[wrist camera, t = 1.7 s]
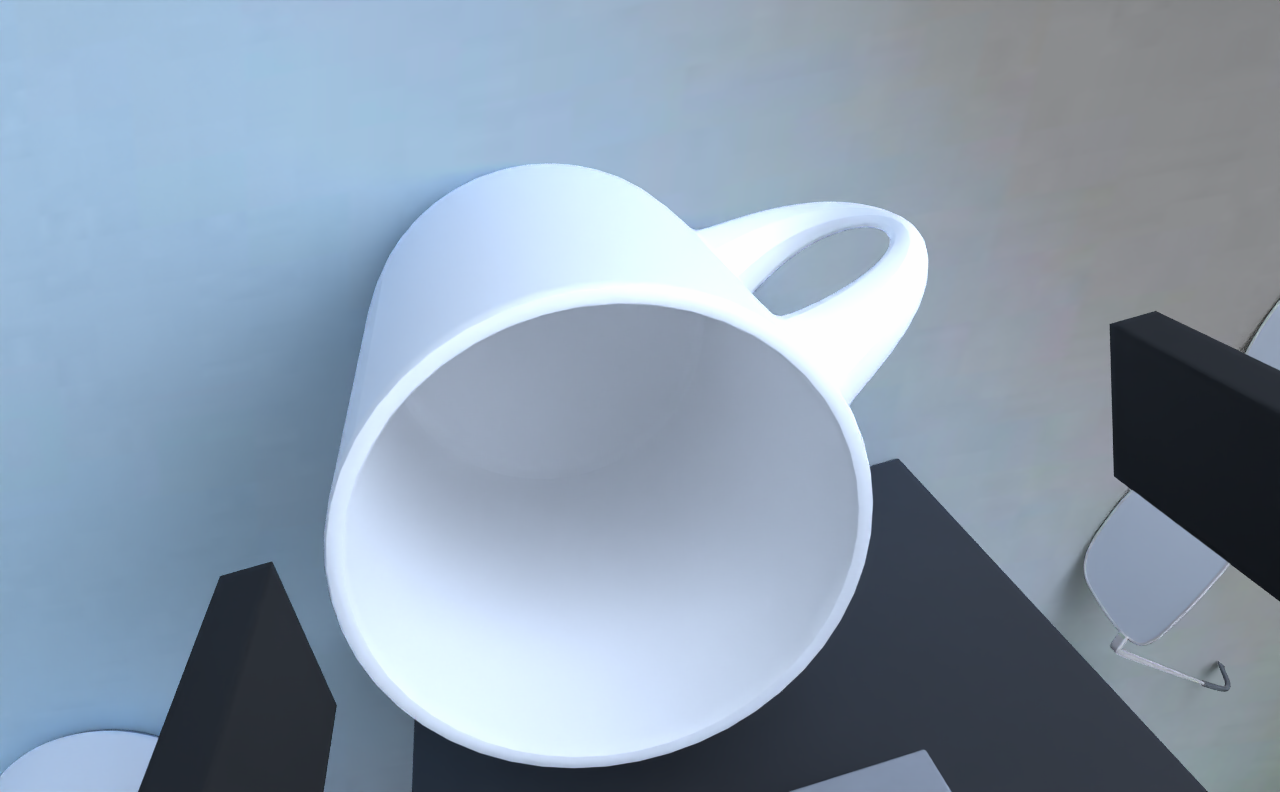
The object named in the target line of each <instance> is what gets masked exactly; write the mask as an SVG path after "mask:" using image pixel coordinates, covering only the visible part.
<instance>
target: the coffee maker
mask: <svg viewBox="0 0 1280 792" xmlns="http://www.w3.org/2000/svg"><path fill="white" fill-rule="evenodd" d="M870 471H871V483H872V496H873V510H872V525H871V536H870V541H869V546H868V551H867V555H866V560H865V565H864V567H863V570H862V573H861V576H860V579H859V581H858V584H857V587H856V590H855V593H854V595H853V597H852V599H851V601H850V603H849V605H848V607H847V609H846V611H845V613H844V615H843V617H842V619H841V621H840V622H839V624H838V625H837V627H836V628H835V630H834V631H833V633H832V634H831V636H830V637H829V639H828V640H827V642H826V643H825V645H824V646H823V648H822V649H821V650H820V651H819V652H818V654H817V655H816V656H815V657H814V658H813V659H812V661H811V662H810V663H809V664H808V665H807V667H806V668H805V669H804V670H803V671H802V672H801V673H800V674H799V675H798V676H797V677H796V678H795V679H794V680H793V681H792V682H791V683H790V684H788V685H787V686H786V687H785V688H784V689H783V690H782V691H781V692H780V693H779V694H777V695H776V696H775V697H773V698H772V699H771V700H770V701H768V702H767V703H766V704H764V705H763V706H762V707H760V708H759V709H758V710H757V711H755V712H754V713H752V714H750V715H749V716H747V717H746V718H744V719H742V720H741V721H739V722H738V723H736V724H734V725H733V726H731V727H729V728H728V729H726V730H724V731H721V732H719V733H717V734H715V735H713V736H711V737H709V738H707V739H705V740H703V741H701V742H699V743H696V744H693V745H691V746H688V747H685V748H682V749H680V750H677V751H674V752H672V753H669V754H665V755H661V756H657V757H653V758H650V759H646V760H642V761H638V762H632V763H625V764H619V765H613V766H606V767H587V768H561V767H542V766H536V765H529V764H523V763H517V762H511V761H507V760H503V759H500V758H496V757H492V756H489V755H485V754H482V753H478V752H476V751H474V750H471V749H469V748H466V747H464V746H462V745H459V744H457V743H454V742H452V741H450V740H448V739H446V738H444V737H443V736H441V735H439V734H437V733H436V732H434V731H432V730H430V729H429V728H427V727H425V726H423V725H422V724H421V723H419V722H418V721H417V720H415V723H414V751H413V778H412V792H1207V791H1206V790H1205V788H1204V787H1203V786H1202V785H1201V784H1200V783H1199V782H1198V781H1197V780H1196V779H1195V778H1194V777H1193V776H1192V774H1191V773H1190V772H1189V771H1188V770H1187V769H1186V768H1185V767H1184V766H1183V765H1182V764H1181V763H1180V762H1179V760H1178V759H1177V758H1176V757H1175V756H1174V755H1173V754H1172V753H1171V752H1170V751H1169V750H1168V749H1167V748H1166V746H1165V745H1164V744H1163V743H1162V742H1161V741H1160V740H1159V739H1158V738H1157V737H1156V736H1155V735H1154V734H1153V732H1152V731H1151V730H1150V729H1149V728H1148V727H1147V726H1146V725H1145V724H1144V723H1143V722H1142V721H1141V720H1140V718H1139V717H1138V716H1137V715H1136V714H1135V713H1134V712H1133V711H1132V710H1131V709H1130V708H1129V707H1128V706H1127V704H1126V703H1125V702H1124V701H1123V700H1122V699H1121V698H1120V697H1119V696H1118V695H1117V694H1116V693H1115V692H1114V690H1113V689H1112V688H1111V687H1110V686H1109V685H1108V684H1107V683H1106V682H1105V681H1104V680H1103V679H1102V677H1101V676H1100V675H1099V674H1098V673H1097V672H1096V671H1095V670H1094V669H1093V668H1092V667H1091V666H1090V665H1089V663H1088V662H1087V661H1086V660H1085V659H1084V658H1083V657H1082V656H1081V655H1080V654H1079V653H1078V652H1077V651H1076V649H1075V648H1074V647H1073V646H1072V645H1071V644H1070V643H1069V642H1068V641H1067V640H1066V639H1065V638H1064V637H1063V635H1062V634H1061V633H1060V632H1059V631H1058V630H1057V629H1056V628H1055V627H1054V626H1053V625H1052V624H1051V623H1050V621H1049V620H1048V619H1047V618H1046V617H1045V616H1044V615H1043V614H1042V613H1041V612H1040V611H1039V610H1038V609H1037V607H1036V606H1035V605H1034V604H1033V603H1032V602H1031V601H1030V600H1029V599H1028V598H1027V597H1026V596H1025V595H1024V593H1023V592H1022V591H1021V590H1020V589H1019V588H1018V587H1017V586H1016V585H1015V584H1014V583H1013V582H1012V581H1011V579H1010V578H1009V577H1008V576H1007V575H1006V574H1005V573H1004V572H1003V571H1002V570H1001V569H1000V568H999V567H998V565H997V564H996V563H995V562H994V561H993V560H992V559H991V558H990V557H989V556H988V555H987V554H986V553H985V551H984V550H983V549H982V548H981V547H980V546H979V545H978V544H977V543H976V542H975V541H974V540H973V539H972V537H971V536H970V535H969V534H968V533H967V532H966V531H965V530H964V529H963V528H962V527H961V526H960V525H959V523H958V522H957V521H956V520H955V519H954V518H953V517H952V516H951V515H950V514H949V513H948V512H947V511H946V509H945V508H944V507H943V506H942V505H941V504H940V503H939V502H938V501H937V500H936V499H935V498H934V497H933V495H932V494H931V493H930V492H929V491H928V490H927V489H926V488H925V487H924V486H923V485H922V484H921V483H920V481H919V480H918V479H917V478H916V477H915V476H914V475H913V474H912V473H911V472H910V471H909V470H908V469H907V467H906V466H905V465H904V464H903V463H902V462H901V461H900V460H899V459H895V460H891V461H888V462H885V463H881V464H878V465H874V466H871V467H870Z"/></svg>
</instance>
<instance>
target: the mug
mask: <svg viewBox="0 0 1280 792" xmlns="http://www.w3.org/2000/svg"><path fill="white" fill-rule="evenodd" d="M862 227H869V228H877V229H880V230H882V231H884V232H886V234H887V235H888V236H889V238H890V245H889V248H888V250H887V251H886V253H885V254H884V256H883V257H882V258H881V259H880V260H879V261H878V262H877V263H876V264H875V265H874V266H873V267H872V268H871V269H870V270H868V271H867V272H866V273H864V274H863V275H862V276H861V277H859V278H858V279H857V280H855V281H853V282H852V283H850V284H849V285H847V286H846V287H844V288H842V289H841V290H839V291H837V292H836V293H834V294H832V295H830V296H828V297H826V298H824V299H822V300H821V301H819V302H816V303H814V304H812V305H810V306H808V307H805V308H803V309H801V310H799V311H796V312H793V313H790V314H786V315H783V316H777V315H773V314H772V313H771V312H770V311H769V310H768V309H767V308H766V307H765V306H763V305H762V304H761V303H760V302H759V301H758V300H757V299H756V297H755V296H754V295H753V293H754V292H755V291H756V290H757V289H758V288H759V286H760V285H761V284H762V283H763V282H764V281H765V280H767V279H768V278H769V277H770V276H771V275H772V274H773V273H774V272H775V271H776V270H777V269H778V268H779V267H781V266H782V265H783V264H784V263H785V262H787V261H788V260H789V259H791V258H792V257H793V256H795V255H796V254H797V253H799V252H800V251H802V250H803V249H805V248H806V247H808V246H810V245H811V244H813V243H815V242H817V241H819V240H821V239H823V238H825V237H828V236H830V235H833V234H836V233H838V232H842V231H846V230H849V229H853V228H862ZM927 274H928V254H927V250H926V246H925V242H924V239H923V238H922V236H921V235H920V234H919V232H918V231H917V229H916V228H915V227H914V226H913V225H912V224H911V223H910V222H908V221H907V220H905V219H904V218H903V217H901V216H898V215H896V214H894V213H891V212H889V211H887V210H883V209H880V208H877V207H873V206H868V205H862V204H857V203H847V202H813V203H802V204H795V205H789V206H783V207H778V208H773V209H769V210H764V211H760V212H757V213H753V214H749V215H746V216H742V217H739V218H736V219H733V220H729V221H726V222H723V223H720V224H717V225H714V226H711V227H707V228H703V229H699V230H695V229H691V228H690V227H689V226H688V225H687V224H685V223H684V222H683V221H682V220H681V219H680V218H679V217H677V216H676V215H675V214H674V213H673V212H672V211H670V210H669V209H668V208H667V207H666V206H664V205H663V204H662V203H660V202H659V201H658V200H656V199H655V198H654V197H652V196H651V195H650V194H648V193H647V192H645V191H644V190H643V189H641V188H639V187H637V186H635V185H633V184H631V183H629V182H628V181H626V180H624V179H622V178H620V177H617V176H614V175H611V174H608V173H605V172H602V171H600V170H596V169H591V168H586V167H581V166H576V165H566V164H552V163H548V164H532V165H523V166H517V167H512V168H507V169H502V170H499V171H496V172H493V173H490V174H487V175H484V176H481V177H478V178H476V179H474V180H472V181H470V182H468V183H466V184H464V185H462V186H460V187H458V188H456V189H454V190H453V191H451V192H450V193H448V194H447V195H445V196H444V197H442V198H441V199H439V200H438V201H437V202H435V203H434V204H433V205H432V206H431V207H429V208H428V209H427V210H426V211H425V212H424V213H423V214H422V215H421V216H419V217H418V218H417V219H416V220H415V222H414V223H413V224H412V225H411V226H410V227H409V229H408V230H407V231H406V232H405V233H404V235H403V236H402V237H401V238H400V240H399V242H398V243H397V245H396V246H395V248H394V249H393V251H392V253H391V254H390V256H389V257H388V259H387V262H386V264H385V266H384V268H383V271H382V273H381V275H380V277H379V279H378V282H377V284H376V287H375V291H374V294H373V298H372V301H371V305H370V308H369V312H368V316H367V321H366V325H365V330H364V335H363V340H362V344H361V349H360V354H359V358H358V363H357V368H356V373H355V377H354V382H353V387H352V392H351V396H350V401H349V406H348V411H347V415H346V420H345V425H344V430H343V434H342V439H341V444H340V448H339V453H338V458H337V463H336V467H335V472H334V477H333V482H332V486H331V491H330V496H329V501H328V508H327V515H326V522H325V530H324V568H325V573H326V579H327V584H328V590H329V595H330V600H331V603H332V606H333V609H334V611H335V614H336V617H337V620H338V623H339V626H340V629H341V631H342V633H343V634H344V636H345V638H346V640H347V642H348V644H349V646H350V648H351V649H352V651H353V653H354V655H355V657H356V658H357V660H358V661H359V662H360V664H361V665H362V667H363V668H364V669H365V671H366V672H367V673H368V675H369V676H370V677H371V679H372V680H373V681H374V683H375V684H376V685H377V686H378V687H379V688H380V689H381V690H382V691H383V692H384V693H385V694H386V695H387V696H388V697H389V698H390V699H391V700H392V701H393V702H394V703H395V704H396V705H397V706H398V707H399V708H401V709H402V710H403V711H405V712H406V713H407V714H409V715H410V716H411V717H413V718H414V719H415V720H417V721H418V722H419V723H421V724H422V725H423V726H425V727H427V728H429V729H430V730H432V731H434V732H436V733H437V734H439V735H441V736H443V737H444V738H446V739H448V740H450V741H452V742H454V743H457V744H459V745H462V746H464V747H466V748H469V749H471V750H474V751H476V752H478V753H482V754H485V755H489V756H492V757H496V758H500V759H503V760H507V761H511V762H517V763H523V764H529V765H536V766H542V767H561V768H587V767H606V766H613V765H619V764H625V763H632V762H638V761H642V760H646V759H650V758H653V757H657V756H661V755H665V754H669V753H672V752H674V751H677V750H680V749H682V748H685V747H688V746H691V745H693V744H696V743H699V742H701V741H703V740H705V739H707V738H709V737H711V736H713V735H715V734H717V733H719V732H721V731H724V730H726V729H728V728H729V727H731V726H733V725H734V724H736V723H738V722H739V721H741V720H742V719H744V718H746V717H747V716H749V715H750V714H752V713H754V712H755V711H757V710H758V709H759V708H760V707H762V706H763V705H764V704H766V703H767V702H768V701H770V700H771V699H772V698H773V697H775V696H776V695H777V694H779V693H780V692H781V691H782V690H783V689H784V688H785V687H786V686H787V685H788V684H790V683H791V682H792V681H793V680H794V679H795V678H796V677H797V676H798V675H799V674H800V673H801V672H802V671H803V670H804V669H805V668H806V667H807V665H808V664H809V663H810V662H811V661H812V659H813V658H814V657H815V656H816V655H817V654H818V652H819V651H820V650H821V649H822V648H823V646H824V645H825V643H826V642H827V640H828V639H829V637H830V636H831V634H832V633H833V631H834V630H835V628H836V627H837V625H838V624H839V622H840V621H841V619H842V617H843V615H844V613H845V611H846V609H847V607H848V605H849V603H850V601H851V599H852V597H853V595H854V593H855V590H856V587H857V584H858V581H859V579H860V576H861V573H862V570H863V567H864V565H865V560H866V555H867V551H868V546H869V541H870V536H871V525H872V510H873V496H872V483H871V471H870V466H869V462H868V457H867V453H866V448H865V444H864V440H863V438H862V435H861V433H860V430H859V428H858V425H857V422H856V420H855V417H854V415H853V412H852V411H851V409H850V407H849V405H850V403H851V402H852V401H853V399H854V398H855V397H856V396H857V394H858V393H859V392H860V391H861V390H862V388H863V387H864V386H865V385H866V384H867V383H868V381H869V380H870V379H871V378H872V377H873V375H874V374H875V373H876V371H877V370H878V369H879V368H880V366H881V365H882V364H883V363H884V361H885V360H886V359H887V358H888V356H889V355H890V354H891V352H892V351H893V349H894V348H895V346H896V345H897V343H898V342H899V341H900V339H901V338H902V336H903V335H904V333H905V332H906V330H907V329H908V327H909V325H910V323H911V321H912V319H913V317H914V315H915V313H916V311H917V309H918V307H919V305H920V302H921V299H922V296H923V293H924V290H925V287H926V284H927Z"/></svg>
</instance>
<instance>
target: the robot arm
mask: <svg viewBox="0 0 1280 792" xmlns="http://www.w3.org/2000/svg"><path fill="white" fill-rule="evenodd" d="M1110 351H1111V387H1112V422H1113V458H1114V477H1116V478H1117V479H1118V480H1120V481H1121V482H1122V483H1124V484H1125V485H1126V486H1128V487H1129V488H1130V489H1132V490H1133V491H1134V492H1136V493H1137V494H1138V495H1140V496H1141V497H1142V498H1144V499H1145V500H1146V501H1148V502H1149V503H1150V504H1151V505H1153V506H1154V507H1155V508H1157V509H1158V510H1159V511H1161V512H1162V513H1163V514H1165V515H1166V516H1167V517H1169V518H1170V519H1171V520H1173V521H1174V522H1175V523H1177V524H1178V525H1179V526H1181V527H1182V528H1183V529H1185V530H1186V531H1187V532H1189V533H1190V534H1191V535H1193V536H1194V537H1195V538H1197V539H1198V540H1199V541H1200V542H1202V543H1203V544H1204V545H1206V546H1207V547H1208V548H1210V549H1211V550H1212V551H1214V552H1215V553H1216V554H1218V555H1219V556H1220V557H1222V558H1223V559H1224V560H1226V561H1227V562H1228V563H1230V564H1231V565H1232V566H1234V567H1235V568H1236V569H1238V570H1239V571H1240V572H1242V573H1243V574H1244V575H1245V576H1247V577H1248V578H1249V579H1251V580H1252V581H1253V582H1255V583H1256V584H1257V585H1259V586H1260V587H1261V588H1263V589H1264V590H1265V591H1267V592H1268V593H1269V594H1271V595H1272V596H1273V597H1275V598H1276V599H1277V600H1279V601H1280V370H1278V369H1276V368H1274V367H1272V366H1270V365H1267V364H1265V363H1263V362H1261V361H1259V360H1257V359H1255V358H1253V357H1251V356H1249V355H1247V354H1244V353H1242V352H1240V351H1238V350H1236V349H1234V348H1232V347H1230V346H1228V345H1226V344H1223V343H1221V342H1219V341H1217V340H1215V339H1213V338H1211V337H1209V336H1207V335H1205V334H1203V333H1200V332H1198V331H1196V330H1194V329H1192V328H1190V327H1188V326H1186V325H1184V324H1182V323H1179V322H1177V321H1175V320H1173V319H1171V318H1169V317H1167V316H1165V315H1163V314H1161V313H1159V312H1156V311H1154V312H1151V313H1147V314H1144V315H1140V316H1137V317H1133V318H1130V319H1126V320H1122V321H1119V322H1115V323H1112V324H1110ZM336 707H337V705H336V702H335V700H334V698H333V696H332V694H331V691H330V689H329V687H328V685H327V682H326V680H325V678H324V676H323V674H322V671H321V669H320V667H319V665H318V662H317V660H316V658H315V656H314V653H313V651H312V649H311V647H310V645H309V642H308V640H307V638H306V636H305V633H304V631H303V629H302V627H301V625H300V622H299V620H298V618H297V616H296V613H295V611H294V609H293V607H292V604H291V602H290V600H289V598H288V596H287V593H286V591H285V589H284V587H283V584H282V582H281V580H280V578H279V576H278V573H277V571H276V569H275V567H274V564H273V562H268V563H265V564H261V565H258V566H254V567H251V568H247V569H244V570H240V571H237V572H233V573H230V574H226V575H222V576H220V578H219V580H218V583H217V586H216V588H215V591H214V593H213V596H212V599H211V601H210V604H209V607H208V609H207V612H206V614H205V617H204V620H203V622H202V625H201V628H200V630H199V633H198V635H197V638H196V641H195V643H194V646H193V649H192V651H191V654H190V656H189V659H188V662H187V664H186V667H185V670H184V672H183V675H182V678H181V680H180V683H179V685H178V688H177V691H176V693H175V696H174V699H173V701H172V704H171V706H170V709H169V712H168V714H167V717H166V720H165V722H164V725H163V727H162V730H161V733H160V735H159V738H158V741H157V743H156V746H155V748H154V751H153V754H152V756H151V759H150V762H149V764H148V767H147V769H146V772H145V775H144V777H143V780H142V783H141V785H140V788H139V790H138V792H323V791H324V785H325V778H326V772H327V765H328V759H329V752H330V746H331V739H332V733H333V726H334V720H335V713H336Z"/></svg>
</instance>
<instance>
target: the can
mask: <svg viewBox="0 0 1280 792" xmlns="http://www.w3.org/2000/svg"><path fill="white" fill-rule="evenodd" d="M158 738H159V736H156V735H152V734H148V733H143V732H137V731H130V730H97V731H89V732H84V733H79V734H74V735H69V736H66V737H62V738H59V739H55V740H53V741H50V742H47V743H45V744H43V745H40V746H38V747H36V748H34V749H33V750H31V751H29V752H27V753H26V754H24V755H23V756H21V757H20V758H19V759H17V760H16V761H15V762H14V763H12V764H11V765H10V766H9V767H8V768H7V769H6V770H5V771H4V772H3V774H2V775H1V776H0V792H138V790H139V788H140V785H141V783H142V780H143V777H144V775H145V772H146V769H147V767H148V764H149V762H150V759H151V756H152V754H153V751H154V748H155V746H156V743H157V741H158Z"/></svg>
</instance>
